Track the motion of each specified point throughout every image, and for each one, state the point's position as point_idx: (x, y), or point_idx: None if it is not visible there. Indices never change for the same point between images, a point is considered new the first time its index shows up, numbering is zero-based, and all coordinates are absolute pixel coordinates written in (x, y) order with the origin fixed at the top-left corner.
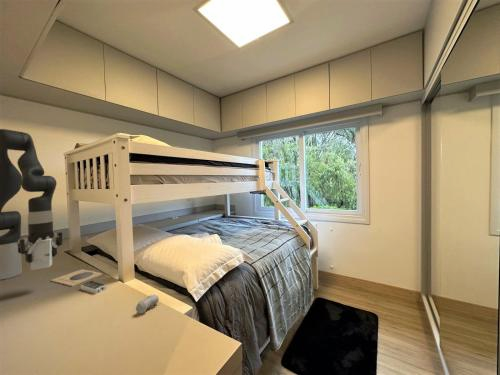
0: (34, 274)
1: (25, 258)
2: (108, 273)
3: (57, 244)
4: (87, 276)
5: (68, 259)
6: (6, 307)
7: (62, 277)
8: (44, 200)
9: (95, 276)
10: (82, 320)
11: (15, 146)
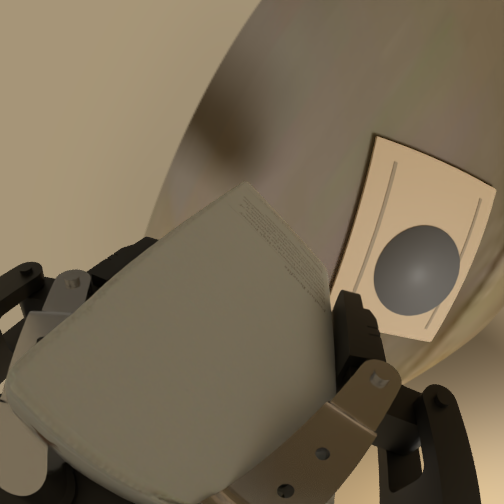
0: None
1: (109, 257)
2: (435, 350)
3: (375, 439)
4: (408, 308)
5: None
6: (153, 221)
7: (409, 177)
8: None
9: (406, 336)
10: None
11: None
